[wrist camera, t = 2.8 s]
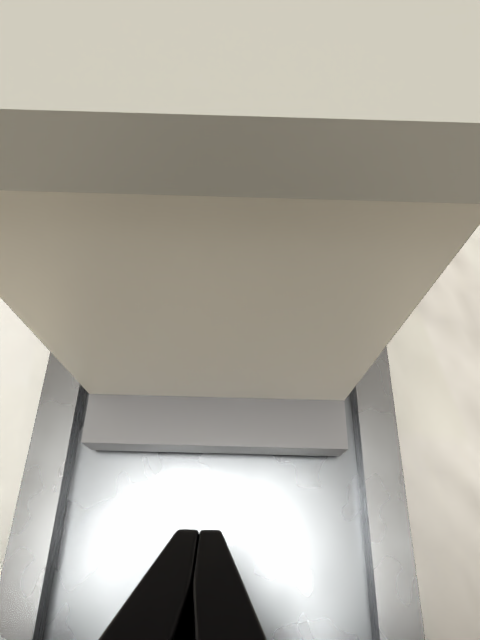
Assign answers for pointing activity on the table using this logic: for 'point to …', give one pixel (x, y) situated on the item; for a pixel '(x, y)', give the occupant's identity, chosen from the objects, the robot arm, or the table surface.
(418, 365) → the table surface
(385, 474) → the tray
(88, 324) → the fader paddle
